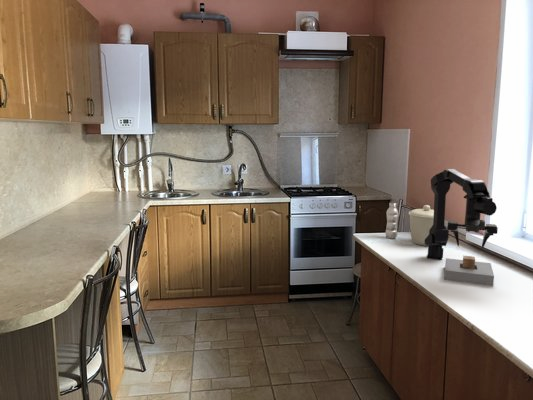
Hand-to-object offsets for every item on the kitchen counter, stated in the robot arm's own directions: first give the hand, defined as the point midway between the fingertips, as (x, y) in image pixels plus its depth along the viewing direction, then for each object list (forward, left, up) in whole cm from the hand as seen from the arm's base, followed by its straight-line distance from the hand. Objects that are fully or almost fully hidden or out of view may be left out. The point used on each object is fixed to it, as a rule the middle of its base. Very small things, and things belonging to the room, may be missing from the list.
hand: (470, 247), depth 185 cm
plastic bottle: (-38, +52, -13) cm, 66 cm away
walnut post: (0, 0, -12) cm, 12 cm away
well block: (0, 0, -12) cm, 12 cm away
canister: (-20, +47, -13) cm, 53 cm away
